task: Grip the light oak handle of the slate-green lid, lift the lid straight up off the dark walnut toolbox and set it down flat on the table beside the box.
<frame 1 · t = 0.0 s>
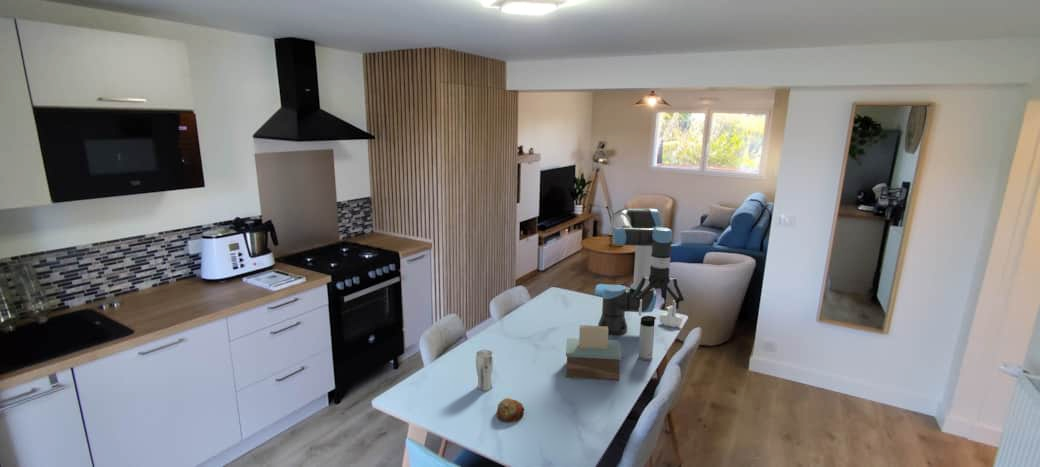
hand: (656, 315, 200), 28 cm above the table, tool pointing down, fingers open, 13 cm apart
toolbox: (592, 371, 211), on the table
beer glass: (484, 387, 198), on the table
travel mug: (645, 358, 224), on the table
lid: (592, 349, 209), point 10 cm above the table, touching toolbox
bread roll: (510, 415, 179), on the table
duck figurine: (670, 325, 262), on the table
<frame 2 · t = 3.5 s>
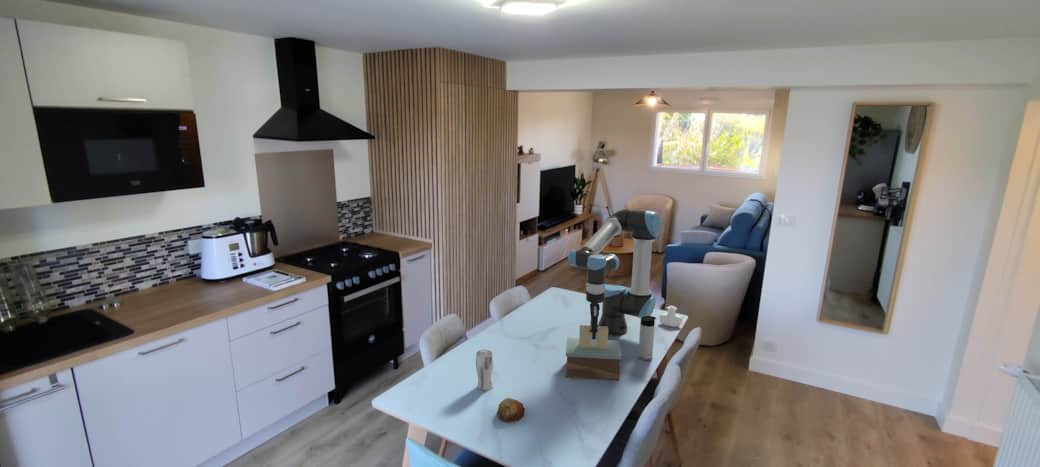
hand: (593, 343, 209), 13 cm above the table, tool pointing down, fingers closed on lid, 3 cm apart
lid: (592, 349, 209), point 10 cm above the table, touching gripper, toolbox
everything else where it was.
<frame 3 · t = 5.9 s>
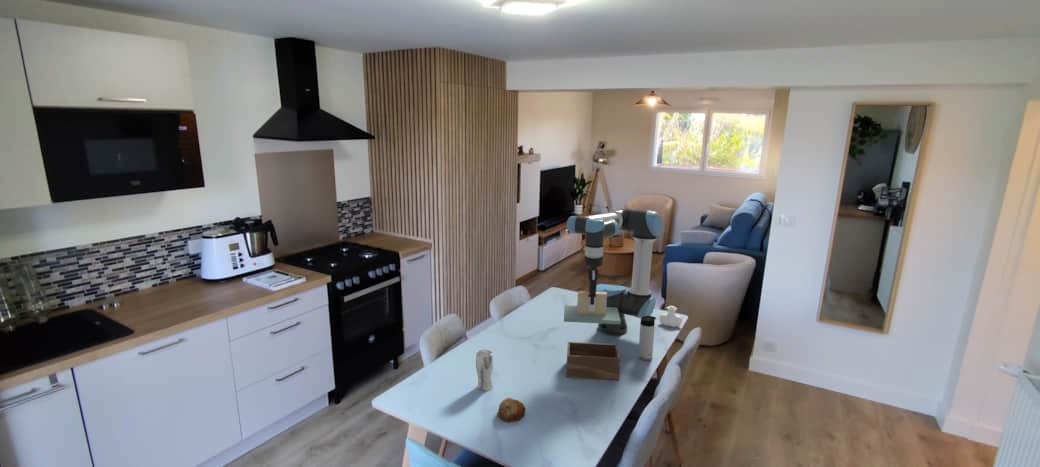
hand: (591, 309, 205), 29 cm above the table, tool pointing down, fingers closed on lid, 3 cm apart
lid: (591, 316, 206), point 26 cm above the table, touching gripper
everything else where it was.
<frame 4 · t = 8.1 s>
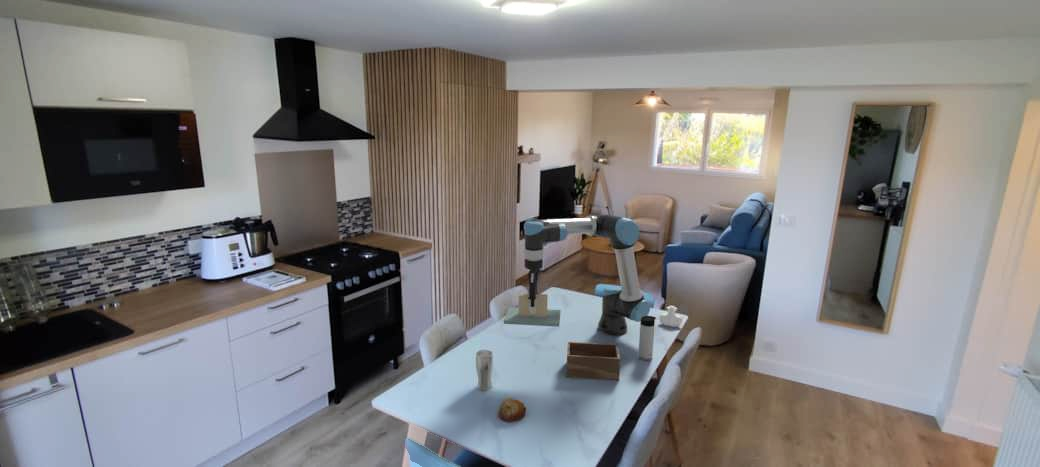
hand: (532, 311, 207), 27 cm above the table, tool pointing down, fingers closed on lid, 3 cm apart
lid: (532, 318, 207), point 24 cm above the table, touching gripper
everything else where it was.
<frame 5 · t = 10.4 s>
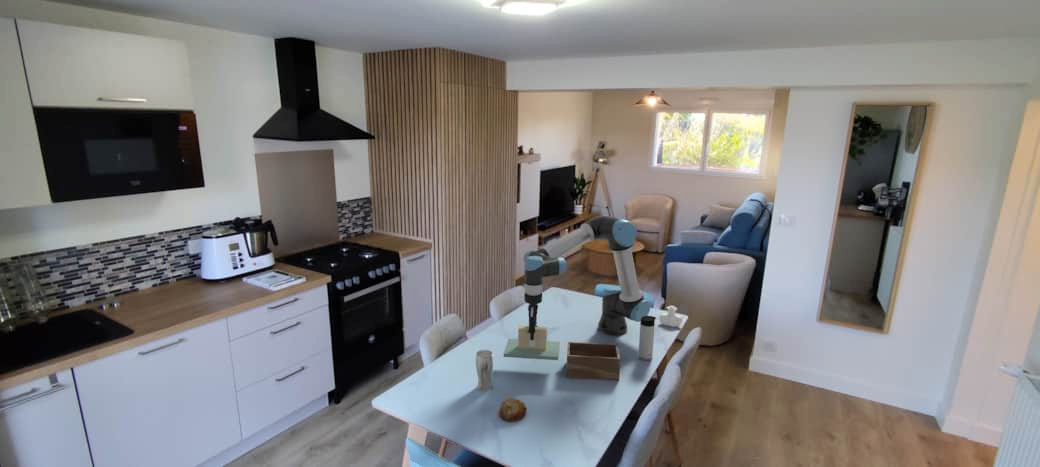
hand: (532, 344, 210), 12 cm above the table, tool pointing down, fingers closed on lid, 3 cm apart
lid: (532, 350, 210), point 9 cm above the table, touching gripper
everything else where it was.
when the fingers open (5 cm above the table, at t = 12.6 s): lid drops 2 cm, on the table.
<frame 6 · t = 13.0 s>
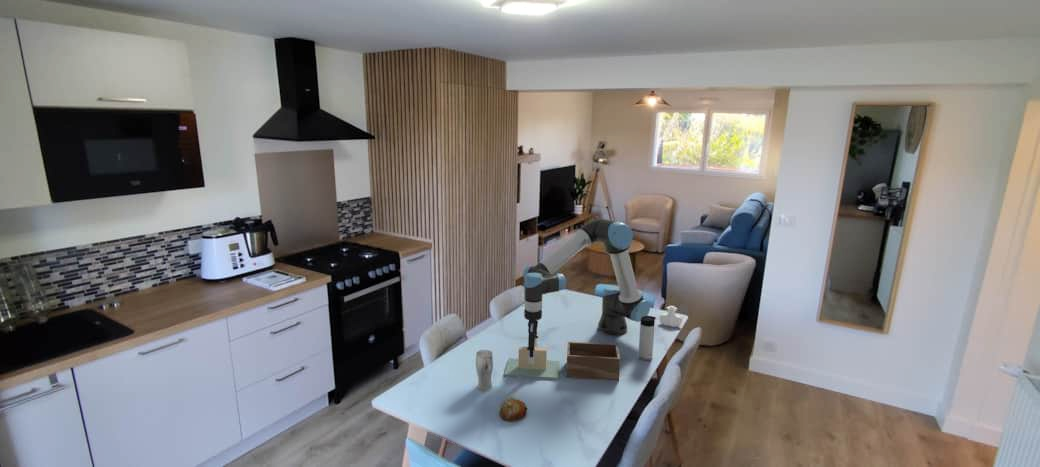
hand: (532, 357, 211), 6 cm above the table, tool pointing down, fingers open, 9 cm apart
lid: (532, 370, 212), on the table
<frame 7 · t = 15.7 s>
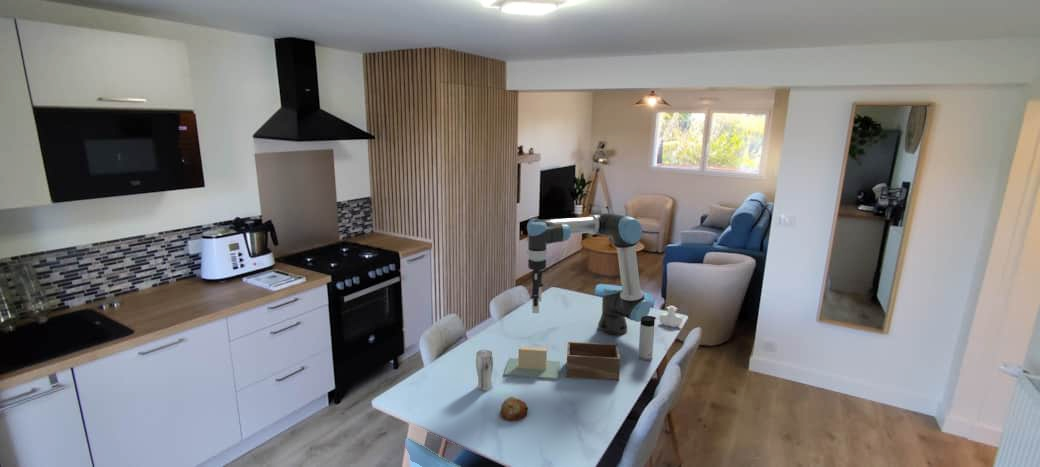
hand: (537, 306, 207), 29 cm above the table, tool pointing down, fingers open, 13 cm apart
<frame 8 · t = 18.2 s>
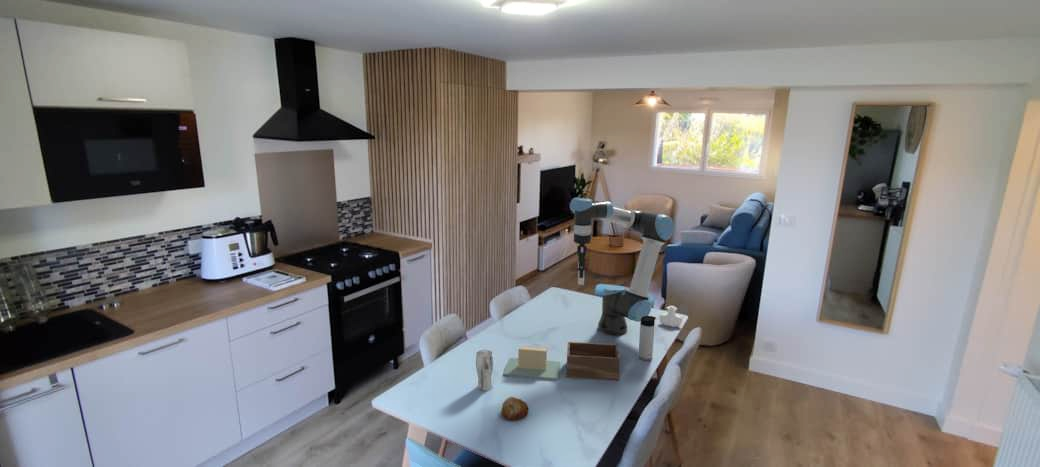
hand: (580, 279, 219), 37 cm above the table, tool pointing down, fingers open, 13 cm apart
at the end: lid inside the target area (0.0 cm from its centre), on the table; lid tilted 0°; the gripper is holding nothing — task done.
